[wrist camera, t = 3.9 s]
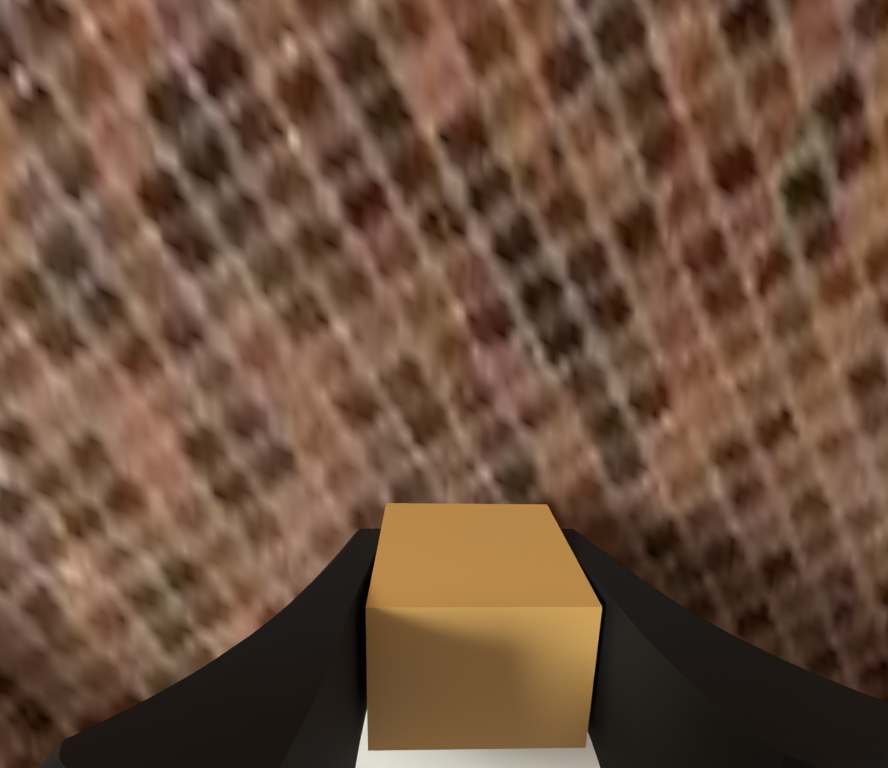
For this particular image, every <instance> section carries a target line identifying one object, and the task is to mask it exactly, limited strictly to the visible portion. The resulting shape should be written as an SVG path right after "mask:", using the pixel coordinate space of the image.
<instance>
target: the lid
mask: <svg viewBox="0 0 888 768" xmlns="http://www.w3.org/2000/svg"><path fill="white" fill-rule="evenodd" d="M601 614H602V606H601V604H600V602H599V600H598V598H597V596H596V594H595V593H594V591H593V589H592V587H591V585H590V583H589V582H588V580H587V578H586V576H585V574H584V572H583V570H582V569H581V567H580V565H579V563H578V561H577V559H576V557H575V556H574V554H573V552H572V550H571V548H570V546H569V544H568V543H567V541H566V539H565V537H564V535H563V533H562V531H561V530H560V528H559V526H558V524H557V522H556V520H555V518H554V517H553V515H552V513H551V511H550V509H549V507H548V505H547V504H407V503H386V507H385V512H384V517H383V522H382V527H381V532H380V538H379V543H378V548H377V553H376V558H375V563H374V568H373V573H372V578H371V583H370V588H369V593H368V598H367V603H366V664H367V711H366V716H365V721H364V725H363V730H362V735H361V739H360V744H359V750H358V756H357V761H356V767H355V768H600V765H599V762H598V759H597V756H596V753H595V750H594V748H593V745H592V742H591V739H590V736H589V734H588V724H589V715H590V707H591V698H592V690H593V681H594V673H595V664H596V656H597V648H598V639H599V631H600V622H601Z"/></svg>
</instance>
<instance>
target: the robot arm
mask: <svg viewBox="0 0 888 768" xmlns="http://www.w3.org/2000/svg"><path fill="white" fill-rule="evenodd" d="M560 530H561V531H562V533H563V535H564V537H565V539H566V541H567V543H568V544H569V546H570V548H571V550H572V552H573V554H574V556H575V557H576V559H577V561H578V563H579V565H580V567H581V569H582V570H583V572H584V574H585V576H586V578H587V580H588V582H589V583H590V585H591V587H592V589H593V591H594V593H595V594H596V596H597V598H598V600H599V602H600V604H601V606H602V614H601V622H600V631H599V639H598V648H597V656H596V664H595V673H594V681H593V690H592V698H591V707H590V715H589V724H588V734H589V736H590V739H591V742H592V745H593V748H594V750H595V753H596V756H597V759H598V762H599V765H600V768H888V702H885V701H883V700H880V699H877V698H874V697H871V696H868V695H866V694H863V693H861V692H858V691H856V690H853V689H851V688H848V687H846V686H843V685H841V684H838V683H836V682H833V681H831V680H829V679H826V678H824V677H821V676H819V675H816V674H814V673H812V672H809V671H807V670H805V669H802V668H800V667H798V666H796V665H793V664H791V663H789V662H787V661H784V660H782V659H780V658H778V657H776V656H774V655H772V654H770V653H768V652H766V651H764V650H761V649H759V648H757V647H755V646H753V645H751V644H749V643H747V642H745V641H743V640H741V639H739V638H737V637H735V636H733V635H731V634H729V633H728V632H726V631H724V630H722V629H720V628H719V627H717V626H715V625H713V624H711V623H710V622H708V621H706V620H704V619H703V618H701V617H699V616H697V615H696V614H694V613H692V612H690V611H689V610H687V609H686V608H684V607H682V606H681V605H679V604H677V603H676V602H674V601H673V600H671V599H670V598H668V597H667V596H665V595H664V594H662V593H661V592H659V591H658V590H656V589H655V588H653V587H652V586H650V585H649V584H647V583H646V582H644V581H643V580H641V579H640V578H639V577H637V576H636V575H634V574H633V573H632V572H630V571H629V570H628V569H626V568H625V567H623V566H622V565H621V564H619V563H618V562H617V561H615V560H614V559H613V558H611V557H610V556H609V555H607V554H606V553H605V552H604V551H602V550H601V549H600V548H598V547H597V546H596V545H594V544H593V543H592V542H590V541H589V540H588V539H586V538H585V537H584V536H582V535H581V534H579V533H578V532H577V531H575V530H573V529H560ZM380 532H381V529H359V530H358V531H357V532H356V533H355V534H354V535H353V537H352V538H351V539H350V540H349V541H348V543H347V544H346V545H345V546H344V547H343V549H342V550H341V551H340V552H339V553H338V554H337V556H336V557H335V558H334V559H333V560H332V561H331V562H330V563H329V564H328V566H327V567H326V568H325V569H324V570H323V571H322V572H321V573H320V574H319V575H318V576H317V577H316V578H315V579H314V580H313V582H312V583H310V584H309V585H308V586H307V587H306V588H305V589H304V590H303V591H302V592H301V593H300V594H299V595H298V596H297V597H296V598H295V599H294V600H293V601H292V602H291V603H290V604H288V605H287V606H286V607H285V608H284V609H283V610H282V611H281V612H279V613H278V614H277V615H276V616H275V617H273V618H272V619H271V620H270V621H268V622H267V623H266V624H265V625H263V626H262V627H261V628H260V629H258V630H257V631H256V632H254V633H253V634H252V635H250V636H249V637H247V638H246V639H244V640H243V641H241V642H240V643H238V644H237V645H236V646H234V647H233V648H231V649H230V650H228V651H227V652H225V653H224V654H222V655H221V656H219V657H218V658H217V659H215V660H214V661H212V662H211V663H209V664H207V665H206V666H204V667H203V668H201V669H199V670H198V671H196V672H194V673H193V674H191V675H189V676H188V677H186V678H184V679H183V680H181V681H179V682H177V683H176V684H174V685H172V686H170V687H169V688H167V689H165V690H163V691H161V692H160V693H158V694H156V695H154V696H152V697H151V698H149V699H147V700H145V701H143V702H141V703H139V704H137V705H135V706H133V707H131V708H129V709H127V710H125V711H123V712H121V713H119V714H117V715H115V716H113V717H111V718H109V719H107V720H105V721H103V722H101V723H99V724H97V725H95V726H93V727H91V728H89V729H87V730H85V731H82V732H80V733H78V734H76V735H74V736H72V737H69V738H67V739H65V740H64V741H63V742H62V743H61V744H60V745H59V746H58V748H57V749H56V750H55V751H54V752H53V753H52V754H51V756H50V757H49V758H48V759H47V760H46V761H45V763H44V764H43V765H42V766H41V767H40V768H355V767H356V761H357V756H358V750H359V744H360V739H361V735H362V730H363V725H364V721H365V716H366V711H367V664H366V603H367V598H368V593H369V588H370V583H371V578H372V573H373V568H374V563H375V558H376V553H377V548H378V543H379V538H380Z"/></svg>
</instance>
